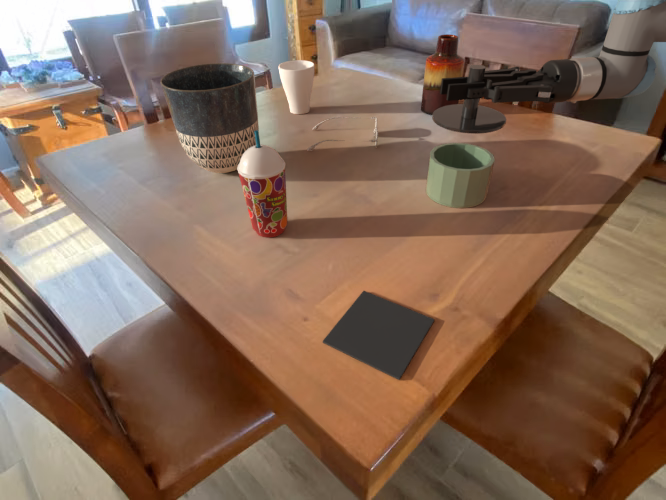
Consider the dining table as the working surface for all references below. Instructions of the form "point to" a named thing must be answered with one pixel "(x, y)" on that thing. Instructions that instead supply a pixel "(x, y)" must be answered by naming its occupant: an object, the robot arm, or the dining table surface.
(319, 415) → the dining table surface
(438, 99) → the vase
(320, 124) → the eyeglasses
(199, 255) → the dining table surface
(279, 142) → the dining table surface
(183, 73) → the planter
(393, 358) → the mat
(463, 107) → the lid
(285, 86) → the cup
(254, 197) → the smoothie
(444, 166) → the pot
